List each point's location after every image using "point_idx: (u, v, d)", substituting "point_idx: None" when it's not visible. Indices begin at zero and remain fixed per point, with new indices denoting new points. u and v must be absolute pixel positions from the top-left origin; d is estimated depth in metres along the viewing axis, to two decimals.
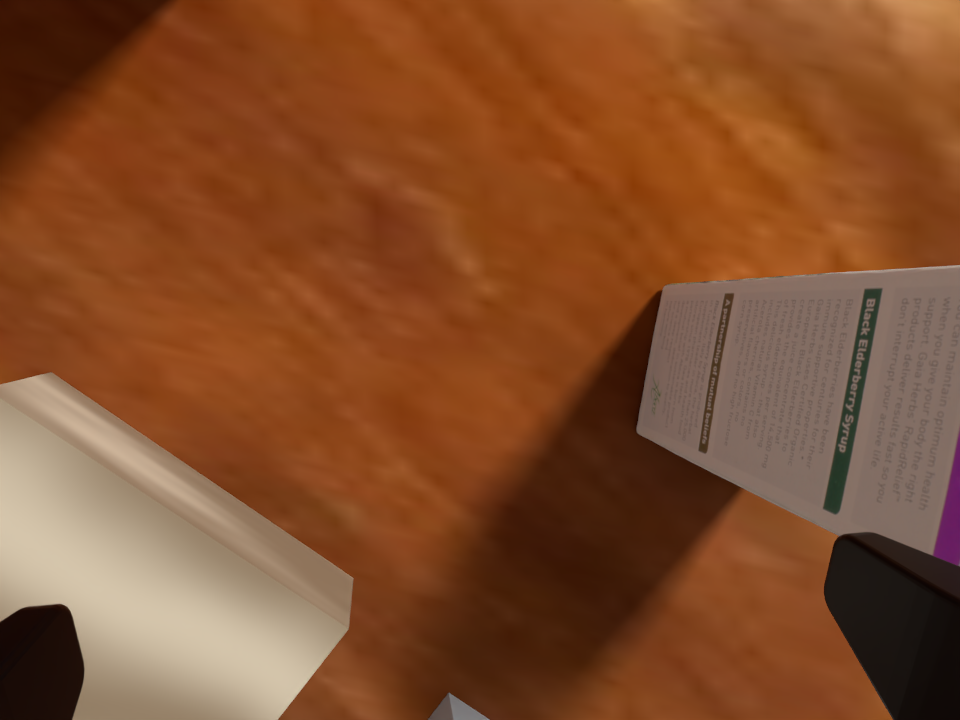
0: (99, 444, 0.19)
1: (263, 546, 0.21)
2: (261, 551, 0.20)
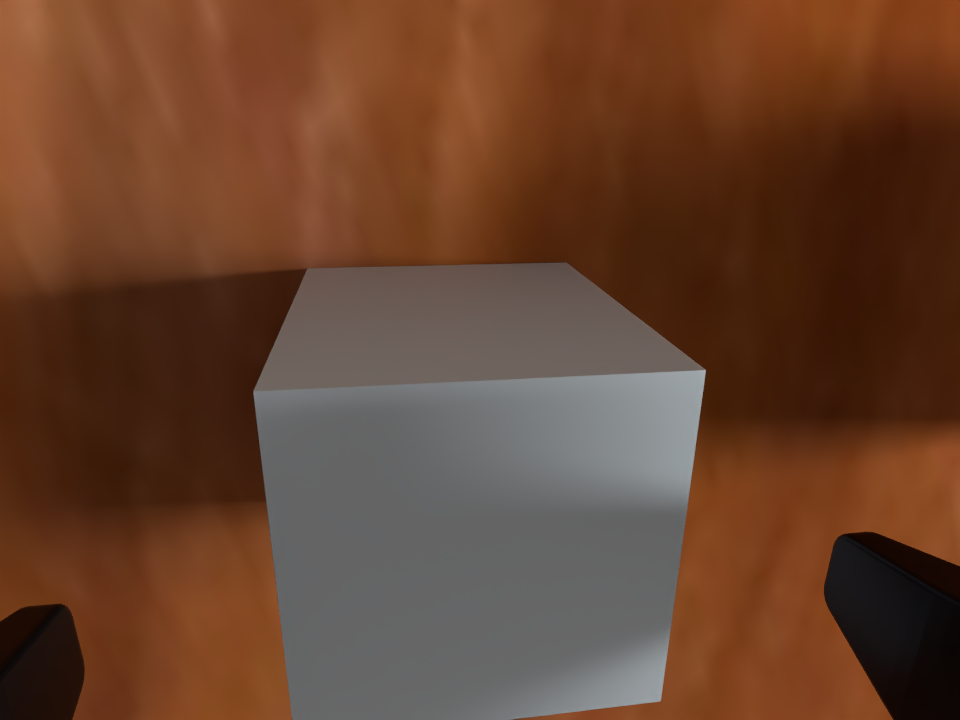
0: None
1: None
2: None
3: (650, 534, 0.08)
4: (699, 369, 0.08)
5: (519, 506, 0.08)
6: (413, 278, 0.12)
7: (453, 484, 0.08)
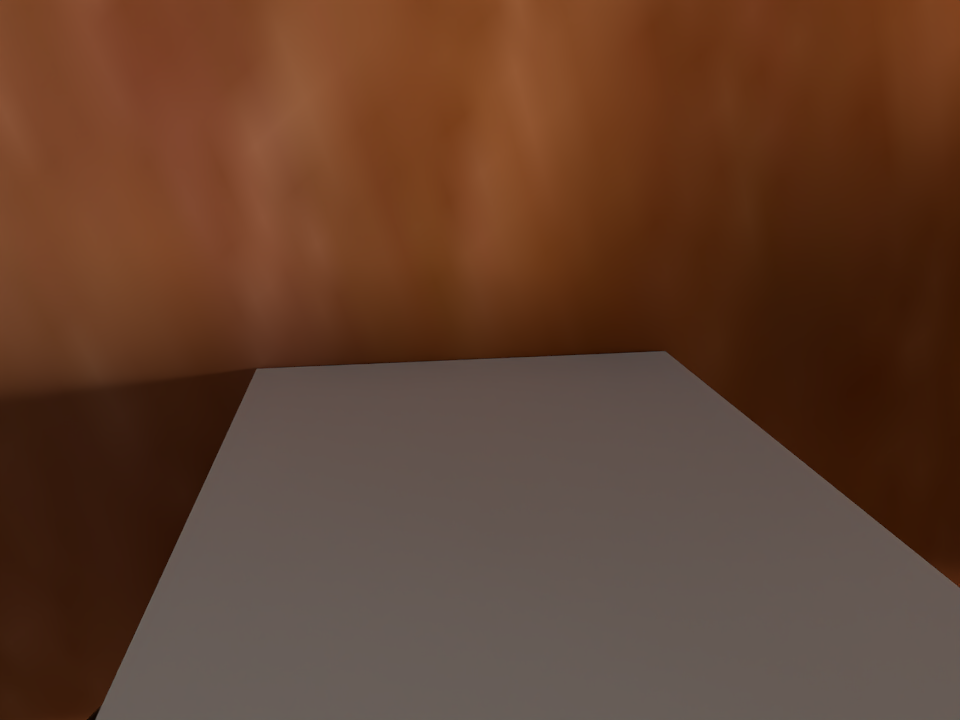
0: None
1: None
2: None
3: None
4: None
5: None
6: (429, 397, 0.07)
7: None
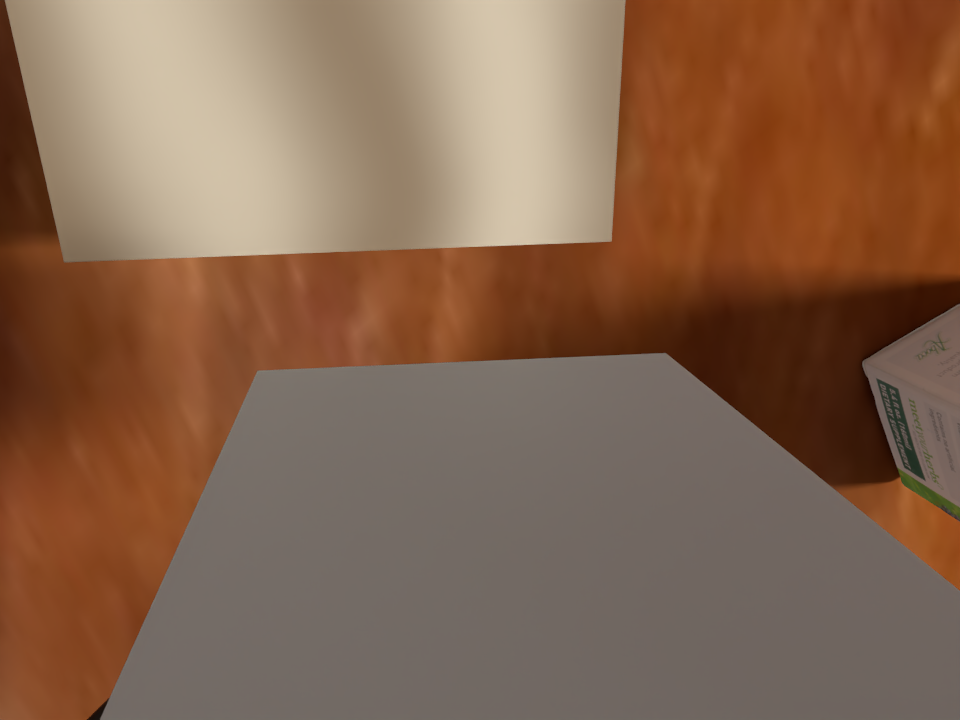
0: None
1: None
2: None
3: None
4: None
5: None
6: (430, 400, 0.07)
7: None
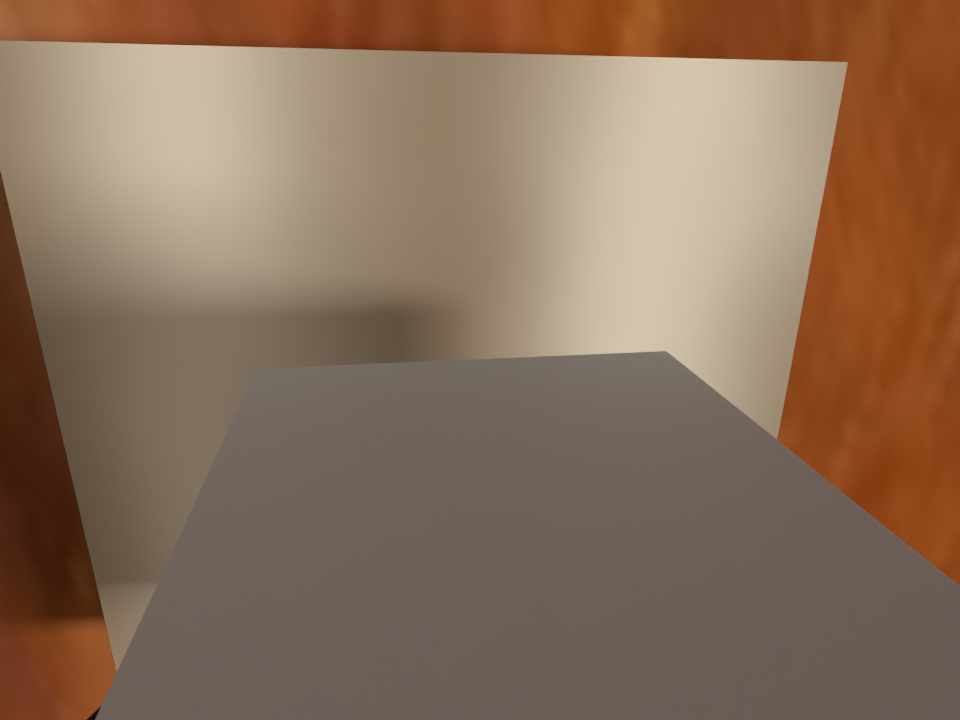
0: None
1: None
2: None
3: None
4: None
5: None
6: (430, 397, 0.07)
7: None
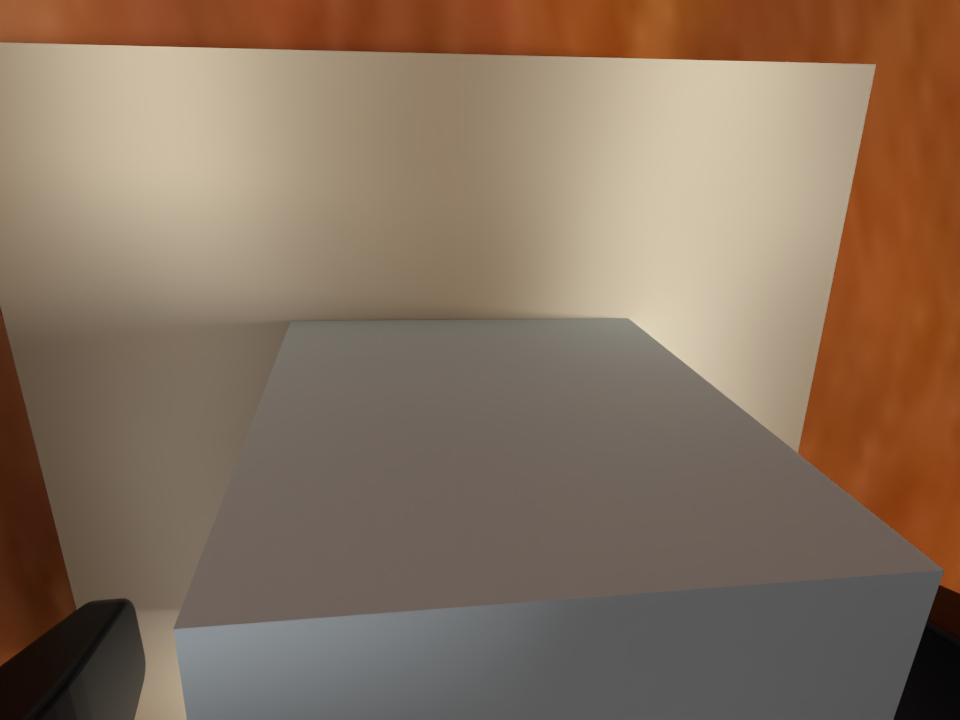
0: None
1: None
2: None
3: None
4: (922, 561, 0.05)
5: None
6: (433, 344, 0.09)
7: None
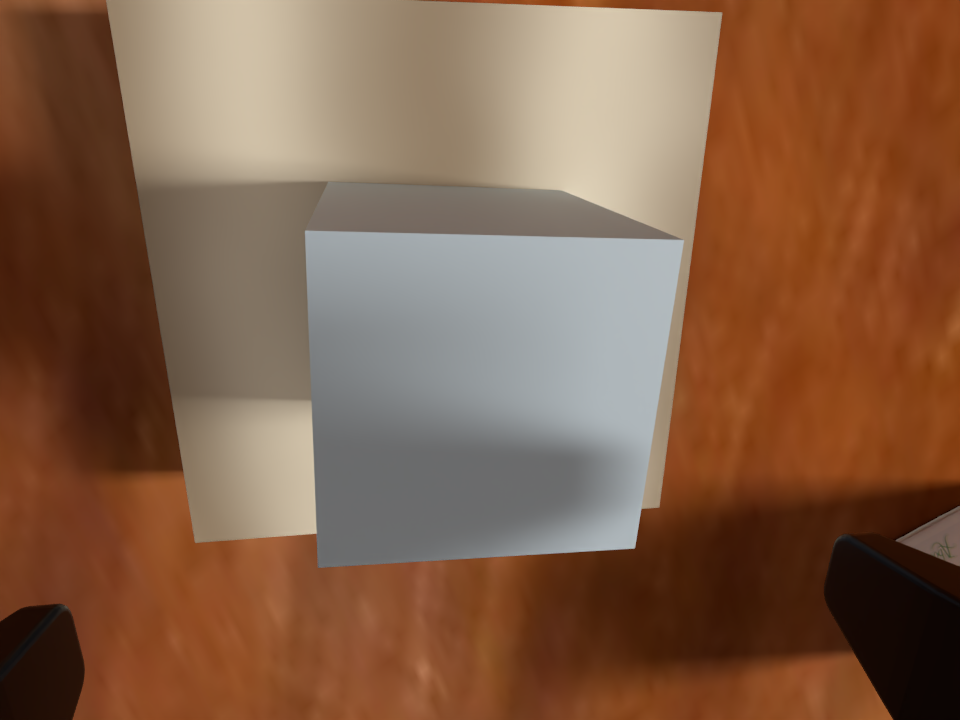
0: None
1: None
2: None
3: (632, 388, 0.10)
4: (678, 242, 0.09)
5: (521, 352, 0.09)
6: (426, 190, 0.13)
7: (468, 328, 0.09)
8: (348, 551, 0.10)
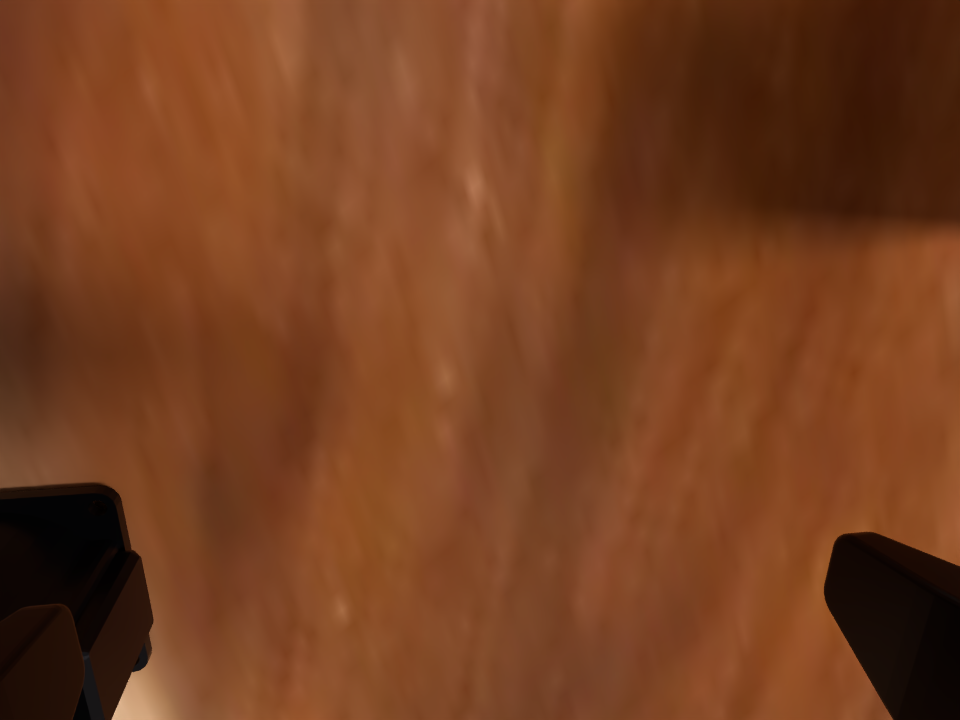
0: None
1: None
2: None
3: None
4: None
5: None
6: None
7: None
8: None
